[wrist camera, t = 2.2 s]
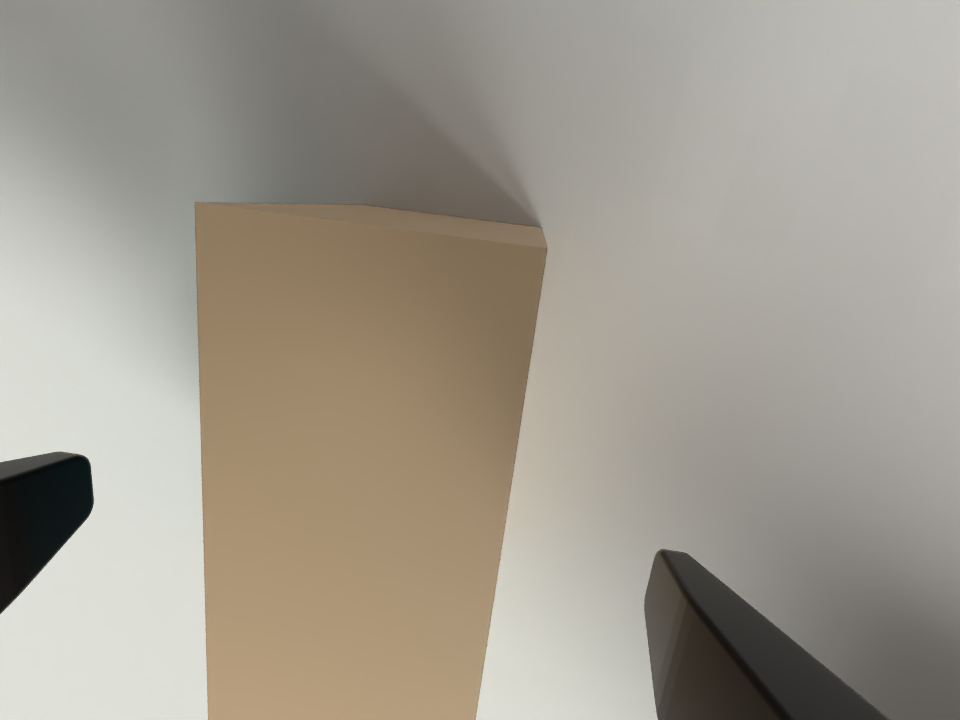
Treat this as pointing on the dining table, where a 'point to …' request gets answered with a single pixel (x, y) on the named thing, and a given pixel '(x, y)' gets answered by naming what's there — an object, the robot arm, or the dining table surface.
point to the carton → (356, 452)
